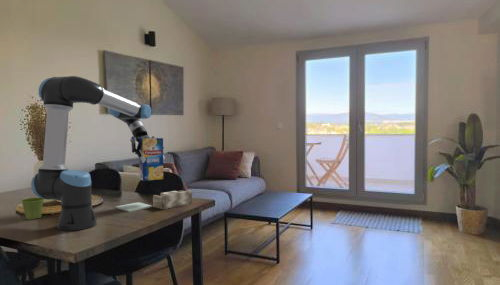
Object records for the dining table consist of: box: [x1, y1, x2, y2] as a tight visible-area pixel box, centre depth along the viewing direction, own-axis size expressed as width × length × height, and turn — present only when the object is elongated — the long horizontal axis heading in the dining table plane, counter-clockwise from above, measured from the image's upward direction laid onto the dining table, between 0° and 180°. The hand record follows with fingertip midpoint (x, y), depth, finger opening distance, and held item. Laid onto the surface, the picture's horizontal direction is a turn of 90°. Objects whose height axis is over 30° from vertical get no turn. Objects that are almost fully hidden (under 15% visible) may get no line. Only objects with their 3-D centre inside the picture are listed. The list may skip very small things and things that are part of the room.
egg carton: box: [152, 190, 193, 210], centre depth 191 cm, size 18×10×7 cm, turn 138°
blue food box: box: [138, 137, 164, 182], centre depth 193 cm, size 7×11×22 cm, turn 122°
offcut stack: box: [159, 190, 179, 196], centre depth 192 cm, size 12×5×6 cm, turn 138°
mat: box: [115, 201, 153, 213], centre depth 186 cm, size 13×13×1 cm
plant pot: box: [20, 197, 45, 220], centre depth 167 cm, size 9×9×9 cm
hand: (154, 160), depth 191 cm, fingers closed on blue food box, 11 cm apart
